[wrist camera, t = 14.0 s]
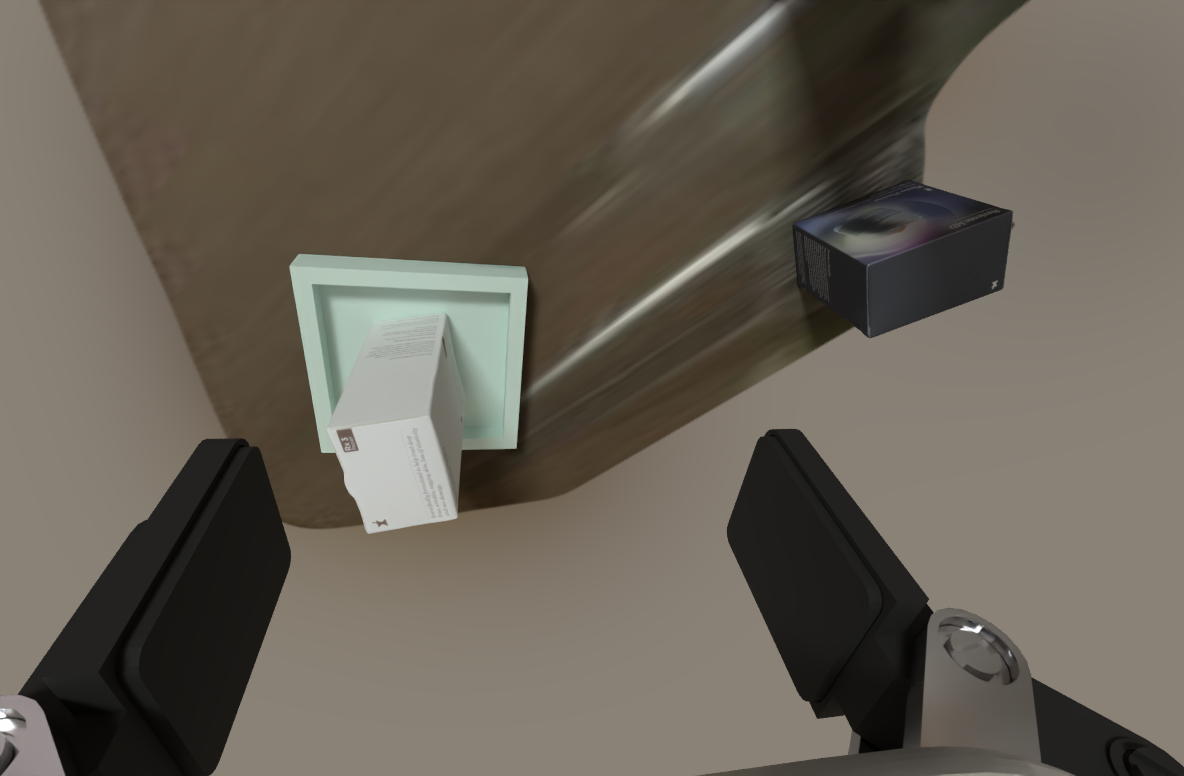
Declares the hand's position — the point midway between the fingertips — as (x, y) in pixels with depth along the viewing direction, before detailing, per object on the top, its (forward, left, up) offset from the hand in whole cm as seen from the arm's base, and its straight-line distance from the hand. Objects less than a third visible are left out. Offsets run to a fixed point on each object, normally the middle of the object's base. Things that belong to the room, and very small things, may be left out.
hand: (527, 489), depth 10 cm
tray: (+5, +15, -33) cm, 36 cm away
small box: (-31, +3, -33) cm, 45 cm away
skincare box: (+5, +15, -32) cm, 36 cm away
